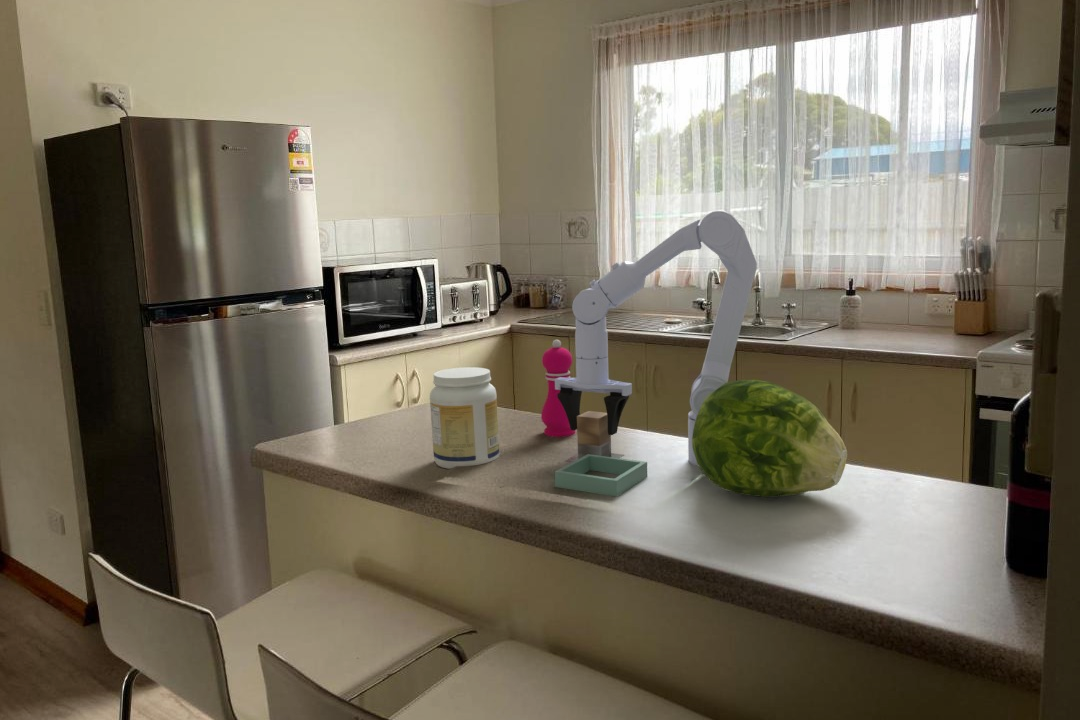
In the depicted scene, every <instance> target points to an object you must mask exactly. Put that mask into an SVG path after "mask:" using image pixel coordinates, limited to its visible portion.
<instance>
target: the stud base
mask: <svg viewBox="0 0 1080 720" xmlns="http://www.w3.org/2000/svg"><path fill="white" fill-rule="evenodd" d="M624 456H625V454H622V453H621V454H620V453H612V452H611V457H614V458H622V457H624ZM576 460H578V453H577V454H575V455H573V456H572V457H569V458H568V459H566V460H565V462H566V463H572V462H574V461H576Z"/></svg>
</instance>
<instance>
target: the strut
mask: <svg viewBox="0 0 1080 720" xmlns="http://www.w3.org/2000/svg"><path fill="white" fill-rule="evenodd" d="M576 431H577V432H576V433H577V436H576V437H577V454H578V459H580V458H581V457H583V456H585V455H587V454H591V455H599V456H606V457H611V453H612V437H611V436H612V435H608V418H607V412H603V411H602V412H601V411H595V410H594V411H593V410H587V411H585V412H582V413H581V414H580V415H578V416H577V429H576Z"/></svg>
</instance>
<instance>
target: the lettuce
mask: <svg viewBox="0 0 1080 720" xmlns="http://www.w3.org/2000/svg"><path fill="white" fill-rule="evenodd" d="M692 446H693V451H694V454H695V457H696V460H697V463H698V465H699V466H698V465H697V466H698V467H699V469H700V470H701V472H703V474H704V475H705V476H706V477H707V478H708V480H710V482H712V483H713V484H715V485H716V486H718V487H720V488H721V489H723V490H724V491H729V492H732V493H735V494H740V495H746V496H754V497H763V498H764V497H765V498H767V497H771V498H772V497H773V498H774V497H787V496H795V495H800V494H804V493H808V492H817V491H819V492H820V491H824V490H825V491H826V490H828V489H830V488H832V487H834V486H837V485H838V483H840V481H841V479H842V477H843V473H844V470H845V468H846V464H847V459H848V450H847V447H846V445H845V443H844V441H843V438H842V437H841V436H840V434H839V433H838V432H837V431H836V429H835V428H834V427H833V425H831V424H830V423H829V422H828V419H827V418H826V417H825V415H824V414H823V413H822V411H821V410H820V409H819V408H818V407H816V405H815V404H813V402H811V401H809V400H808V399H806V398H805V397H804V396H801V395H799V394H798V393H796V392H794V391H792V390H790V389H787V388H785V387H782V386H780V385H779V384H775V383H774V382H771V381H766V380H760V379H740V380H732V381H728V382H727V383H725V384H723V385H722V386H720V387H719V388H718V389H716V390H715V391H714V392H712V393H711V394H710V395H708V396H707V398H706V399H705V401H704V402H703V404H702V406H701V408H700V410H699V412H698V415H697V418H696V421H695V425H694V429H693V436H692Z"/></svg>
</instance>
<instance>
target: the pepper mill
mask: <svg viewBox="0 0 1080 720" xmlns="http://www.w3.org/2000/svg"><path fill="white" fill-rule="evenodd" d="M551 344H552V347H551V348H548V349H547V350H545V351H544V353H543V355H542V358H541V359H542V360H541V361H542V363H541V364H542V366H543V367H544V369H545V370H546V371H545V373H544V374H545V377H544V378H545V380H547V386H548V388H547V389H548V390H547V395H546V399H545V402H544V404H543V407H542V411H541V418H540V419H541V422H542V423H543V425H545V426H546V428H544V431H543V433H544V435H546V436H548V437H553V438H554V437H555V438H560V437H561V438H562V437H569V436H572V435H575V434H576V430H574V431H573V430H571V429H570V425H569V421H568V418H567V415H566V412H565V410H564V408H563V406H562V404H561V402H560V401H559V399H558V398H557V394H558V393H560V391H561V390H556V389H555V379H557V378H560V377H564V378H571V371H570V370H569V369H570V368H571V366H572V364H573V356H572V354H571V352H570V350H568V349H567V348H565V347H561V346H562V342H561V340H559V339H554V340H553V341H552V343H551Z"/></svg>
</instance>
